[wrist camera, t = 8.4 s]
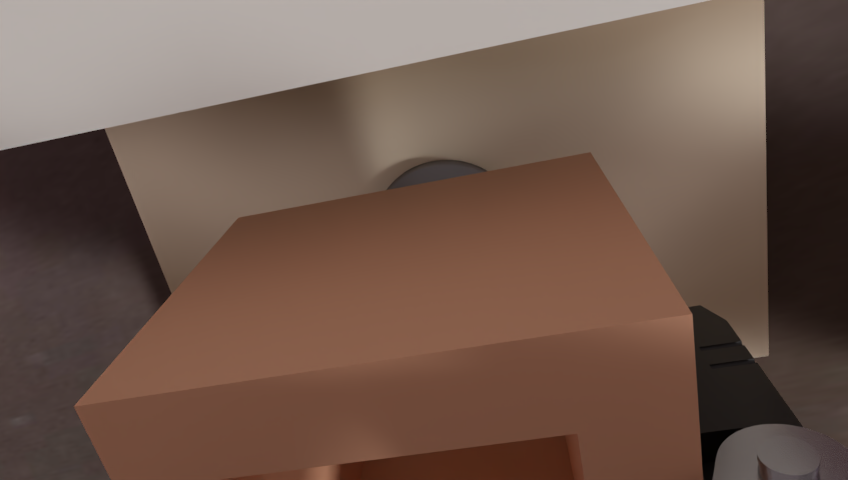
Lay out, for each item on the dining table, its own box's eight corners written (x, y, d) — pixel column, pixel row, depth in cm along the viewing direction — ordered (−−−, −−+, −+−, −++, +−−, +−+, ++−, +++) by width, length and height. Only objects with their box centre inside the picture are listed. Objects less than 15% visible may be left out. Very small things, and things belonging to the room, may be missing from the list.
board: (-57, -414, 13) (-477, -711, 7) (707, -680, 11) (974, -1386, 5) (248, 389, 21) (161, 562, 15) (739, 316, 19) (865, 483, 13)
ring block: (238, 217, 11) (73, 406, 6) (590, 152, 10) (691, 314, 6) (330, 483, 13) (257, 766, 9) (626, 446, 12) (719, 737, 8)
